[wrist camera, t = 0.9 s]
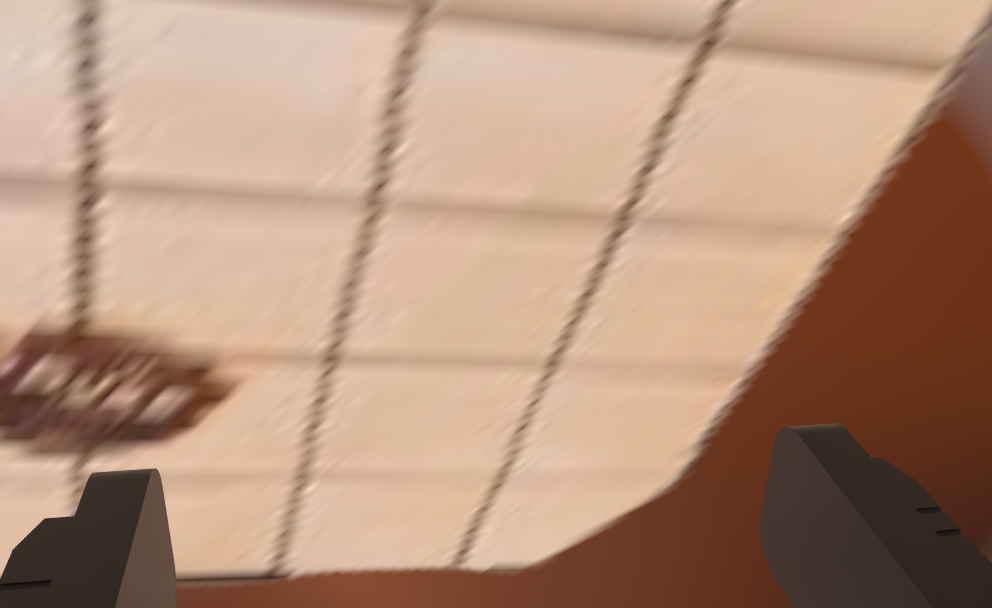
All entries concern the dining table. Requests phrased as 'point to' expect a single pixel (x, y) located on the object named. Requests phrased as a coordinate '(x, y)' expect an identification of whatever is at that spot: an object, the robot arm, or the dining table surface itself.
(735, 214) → the dining table surface
